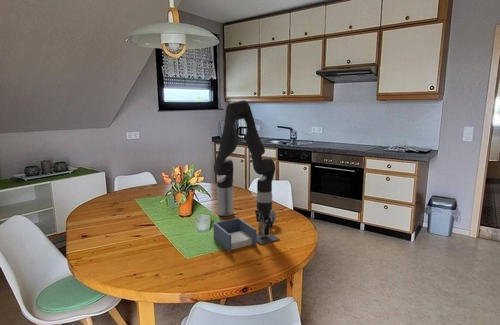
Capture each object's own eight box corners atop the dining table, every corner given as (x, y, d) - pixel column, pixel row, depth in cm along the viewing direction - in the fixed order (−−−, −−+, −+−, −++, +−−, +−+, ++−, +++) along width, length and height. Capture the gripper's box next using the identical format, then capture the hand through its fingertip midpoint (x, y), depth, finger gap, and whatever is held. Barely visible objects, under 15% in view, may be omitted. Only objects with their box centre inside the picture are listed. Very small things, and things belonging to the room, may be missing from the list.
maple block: (258, 234, 157) (258, 220, 155) (265, 232, 159) (265, 219, 157) (262, 237, 153) (262, 223, 152) (269, 235, 155) (269, 221, 154)
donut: (264, 229, 167) (264, 211, 165) (260, 227, 169) (260, 210, 168) (277, 224, 174) (277, 207, 172) (273, 223, 176) (273, 206, 174)
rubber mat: (249, 236, 158) (249, 235, 158) (267, 232, 164) (267, 231, 163) (260, 245, 149) (260, 243, 149) (279, 240, 154) (279, 239, 154)
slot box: (213, 237, 157) (213, 222, 156) (238, 232, 164) (238, 217, 162) (229, 252, 142) (229, 235, 140) (256, 245, 148) (256, 229, 147)
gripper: (250, 197, 157) (250, 229, 160) (265, 205, 145) (265, 240, 148) (263, 195, 161) (263, 226, 164) (279, 202, 148) (278, 236, 151)
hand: (264, 233), depth 156 cm, fingers open, 4 cm apart
